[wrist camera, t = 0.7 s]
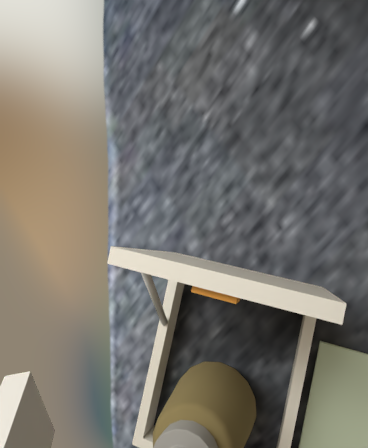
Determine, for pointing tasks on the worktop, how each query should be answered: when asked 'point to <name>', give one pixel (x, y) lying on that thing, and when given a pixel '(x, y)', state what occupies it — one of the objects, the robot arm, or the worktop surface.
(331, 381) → the green mat
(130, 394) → the worktop surface
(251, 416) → the squeeze bottle
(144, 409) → the access hatch
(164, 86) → the worktop surface
